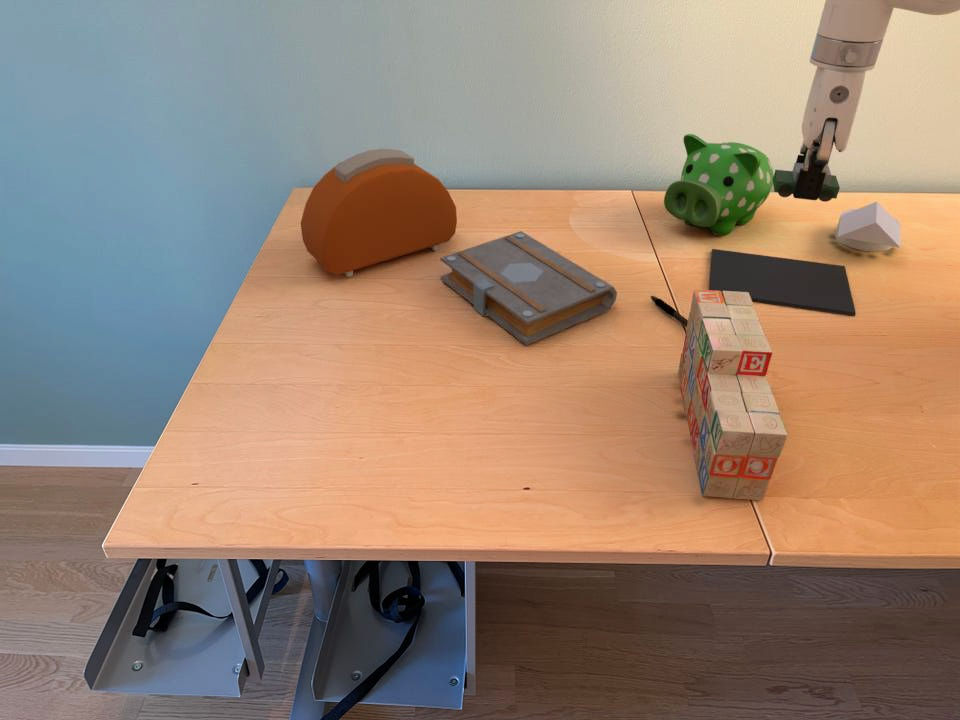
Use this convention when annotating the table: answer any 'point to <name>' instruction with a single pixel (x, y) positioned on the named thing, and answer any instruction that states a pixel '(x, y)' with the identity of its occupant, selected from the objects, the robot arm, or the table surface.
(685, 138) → the piggy bank
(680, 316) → the pen
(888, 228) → the wedge on round base
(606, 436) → the table surface
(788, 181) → the toy car
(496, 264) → the book
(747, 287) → the mat
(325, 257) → the orange toaster
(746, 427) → the stack of blocks
